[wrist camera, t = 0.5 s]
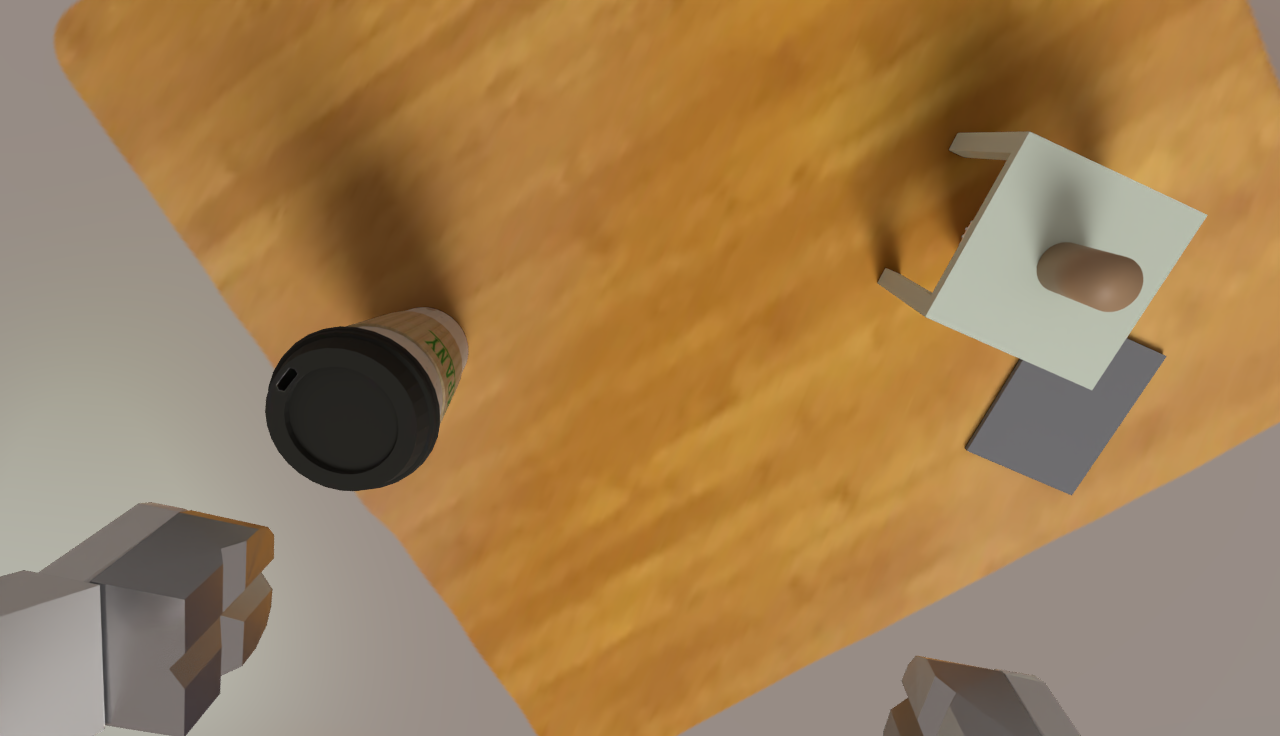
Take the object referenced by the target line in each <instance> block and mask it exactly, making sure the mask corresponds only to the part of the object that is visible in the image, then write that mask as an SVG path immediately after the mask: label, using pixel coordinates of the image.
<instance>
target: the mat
mask: <svg viewBox="0 0 1280 736" xmlns="http://www.w3.org/2000/svg"><path fill="white" fill-rule="evenodd" d="M1165 358H1166V356H1165V355H1163V354H1160V353H1158V352H1156V351H1154V350H1152V349H1149V348H1147V347H1145V346H1143V345H1140V344H1138V343H1136V342H1134V341H1131V340H1129V339H1127V338H1126V340H1125V341H1124V343H1123V344H1122V346H1121V347H1120V349H1119V350H1118V352H1117V353H1116V355H1115V356H1114V358H1113V359H1112V361H1111V362H1110V364H1109V365H1108V367H1107V368H1106V370H1105V372H1104V373H1103V375H1102V376H1101V378H1100V379H1099V381H1098V382H1097V384H1096V385H1095V387H1094V388H1093V390H1090V389H1088V388H1085V387H1083V386H1081V385H1079V384H1076V383H1074V382H1072V381H1070V380H1067V379H1065V378H1063V377H1060V376H1058V375H1056V374H1054V373H1051V372H1049V371H1047V370H1045V369H1042V368H1040V367H1038V366H1035V365H1033V364H1031V363H1029V362H1026V361H1024V360H1022V359H1020V360H1019V362H1018V363H1017V365H1016V366H1015V368H1014V370H1013V371H1012V373H1011V375H1010V376H1009V378H1008V379H1007V381H1006V383H1005V384H1004V386H1003V388H1002V389H1001V391H1000V392H999V394H998V396H997V397H996V399H995V401H994V402H993V404H992V405H991V407H990V409H989V410H988V412H987V413H986V415H985V417H984V418H983V420H982V422H981V423H980V425H979V426H978V428H977V430H976V431H975V433H974V435H973V436H972V438H971V439H970V441H969V443H968V444H967V446H966V448H965V449H966V450H967V451H969V452H971V453H974V454H976V455H978V456H981V457H983V458H985V459H988V460H990V461H992V462H995V463H997V464H999V465H1002V466H1004V467H1007V468H1009V469H1011V470H1014V471H1016V472H1018V473H1021V474H1023V475H1025V476H1028V477H1030V478H1032V479H1035V480H1037V481H1039V482H1042V483H1044V484H1046V485H1049V486H1051V487H1053V488H1056V489H1058V490H1060V491H1063V492H1065V493H1068V494H1070V495H1072V494H1073V493H1074V491H1075V490H1076V488H1077V487H1078V486H1079V484H1080V483H1081V481H1082V480H1083V478H1084V477H1085V475H1086V474H1087V472H1088V471H1089V469H1090V468H1091V466H1092V465H1093V464H1094V462H1095V461H1096V459H1097V458H1098V456H1099V455H1100V453H1101V452H1102V450H1103V449H1104V447H1105V446H1106V444H1107V443H1108V442H1109V440H1110V439H1111V437H1112V436H1113V434H1114V433H1115V431H1116V430H1117V428H1118V427H1119V425H1120V424H1121V422H1122V421H1123V420H1124V418H1125V417H1126V415H1127V414H1128V412H1129V411H1130V409H1131V408H1132V406H1133V405H1134V403H1135V402H1136V400H1137V399H1138V397H1139V396H1140V395H1141V393H1142V392H1143V390H1144V389H1145V387H1146V386H1147V384H1148V383H1149V381H1150V380H1151V378H1152V377H1153V375H1154V374H1155V373H1156V371H1157V370H1158V368H1159V367H1160V365H1161V364H1162V362H1163V361H1164V359H1165Z"/></svg>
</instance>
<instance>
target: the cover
mask: <svg viewBox="0 0 1280 736" xmlns="http://www.w3.org/2000/svg"><path fill="white" fill-rule="evenodd" d="M949 151H951V152H954V153H956V154H958V155H960V156H962V157H965V158H979V159H994V160H1007V161H1006V163H1005V165H1004V166H1003V168H1002V170H1001V172H1000V173H999V175H998V177H997V179H996V181H995V182H994V184H993V186H992V188H991V189H990V191H989V193H988V195H987V197H986V198H985V200H984V202H983V204H982V206H981V207H980V209H979V211H978V213H977V214H976V216H975V218H974V220H973V222H972V223H971V225H970V227H969V229H968V230H967V232H966V234H965V236H964V238H963V239H962V241H961V243H960V245H959V246H958V248H957V250H956V252H955V254H954V255H953V257H952V259H951V261H950V263H949V264H948V266H947V268H946V270H945V271H944V273H943V275H942V277H941V279H940V280H939V282H938V284H937V286H936V287H935V289H934V291H933V293H931V292H930V291H928V290H926V289H925V288H923V287H921V286H920V285H918V284H916V283H914V282H913V281H911V280H909V279H908V278H906V277H904V276H903V275H901V274H899V273H897V272H894V271H892V270H890V269H888V268H885V270H884V272H883V274H882V275H881V277H880V279H879V281H878V284H879V285H881V286H882V287H884V288H885V289H886V290H888V291H889V292H891V293H892V294H893V295H895V296H896V297H898V298H899V299H901V300H902V301H903V302H905V303H906V304H908V305H909V306H910V307H912V308H913V309H915V310H916V311H918V312H919V313H920V314H922V315H923V316H925V317H927V318H929V319H931V320H933V321H936V322H938V323H940V324H942V325H945V326H947V327H949V328H952V329H954V330H956V331H958V332H961V333H963V334H965V335H967V336H970V337H972V338H974V339H977V340H979V341H981V342H983V343H986V344H988V345H990V346H992V347H995V348H997V349H999V350H1001V351H1004V352H1006V353H1008V354H1011V355H1013V356H1015V357H1017V358H1020V359H1022V360H1024V361H1026V362H1029V363H1031V364H1033V365H1035V366H1038V367H1040V368H1042V369H1045V370H1047V371H1049V372H1051V373H1054V374H1056V375H1058V376H1060V377H1063V378H1065V379H1067V380H1070V381H1072V382H1074V383H1076V384H1079V385H1081V386H1083V387H1085V388H1088V389H1090V390H1093V388H1094V387H1095V385H1096V384H1097V382H1098V381H1099V379H1100V378H1101V376H1102V375H1103V373H1104V372H1105V370H1106V368H1107V367H1108V365H1109V364H1110V362H1111V361H1112V359H1113V358H1114V356H1115V355H1116V353H1117V352H1118V350H1119V349H1120V347H1121V346H1122V344H1123V343H1124V341H1125V340H1126V338H1127V337H1128V335H1129V334H1130V332H1131V331H1132V329H1133V327H1134V326H1135V324H1136V323H1137V321H1138V320H1139V318H1140V317H1141V315H1142V314H1143V312H1144V311H1145V309H1146V308H1147V306H1148V305H1149V303H1150V302H1151V300H1152V299H1153V297H1154V296H1155V294H1156V293H1157V291H1158V289H1159V288H1160V286H1161V285H1162V283H1163V282H1164V280H1165V279H1166V277H1167V276H1168V274H1169V273H1170V271H1171V270H1172V268H1173V267H1174V265H1175V264H1176V262H1177V261H1178V259H1179V258H1180V256H1181V255H1182V253H1183V251H1184V250H1185V248H1186V247H1187V245H1188V244H1189V242H1190V241H1191V239H1192V238H1193V236H1194V235H1195V233H1196V232H1197V230H1198V229H1199V227H1200V226H1201V224H1202V223H1203V221H1204V220H1205V218H1206V217H1207V215H1206V214H1204V213H1202V212H1200V211H1198V210H1196V209H1194V208H1191V207H1189V206H1187V205H1185V204H1183V203H1181V202H1179V201H1177V200H1174V199H1172V198H1170V197H1168V196H1166V195H1164V194H1162V193H1160V192H1157V191H1155V190H1153V189H1151V188H1149V187H1147V186H1145V185H1142V184H1140V183H1138V182H1136V181H1134V180H1132V179H1130V178H1128V177H1125V176H1123V175H1121V174H1119V173H1117V172H1115V171H1113V170H1111V169H1108V168H1106V167H1104V166H1102V165H1100V164H1098V163H1096V162H1094V161H1091V160H1089V159H1087V158H1085V157H1083V156H1081V155H1079V154H1077V153H1074V152H1072V151H1070V150H1068V149H1066V148H1064V147H1062V146H1060V145H1057V144H1055V143H1053V142H1051V141H1049V140H1047V139H1045V138H1042V137H1040V136H1038V135H1036V134H1034V133H1032V132H975V133H957V135H956V137H955V139H954V141H953V143H952V145H951V146H950V148H949Z"/></svg>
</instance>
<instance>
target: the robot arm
mask: <svg viewBox="0 0 1280 736" xmlns="http://www.w3.org/2000/svg"><path fill="white" fill-rule="evenodd" d="M273 559H274V534H273V533H272V532H271V530H270V529H269V528H268V527H265V526H260V525H256V524H251V523H247V522H242V521H237V520H233V519H229V518H224V517H220V516H215V515H210V514H205V513H201V512H196V511H192V510H190V511H188V510H186V509H183V508H177V507H173V506H167V505H162V504H157V503H152V502H149V503H139V504H137V505H136V506H134V507H133V508H132V509H130V510H128V511H127V512H126V513H124V514H123V515H121V516H120V517H118V518H117V519H115V520H114V521H112V522H111V523H110V524H108V525H107V526H105V527H104V528H102V529H101V530H99V531H98V532H96V533H95V534H94V535H92V536H91V537H89V538H88V539H86V540H85V541H83V542H82V543H81V544H79V545H78V546H76V547H75V548H73V549H72V550H70V551H69V552H68V553H66V554H65V555H63V556H62V557H60V558H59V559H57V560H56V561H54V562H53V563H51V564H50V565H49V566H47V567H46V568H44V569H43V570H41V571H40V572H39V573H35V572H31V571H25V570H23V571H19V572H16V573H12V574H8V575H4V576H1V577H0V736H94V735H96V734H98V733H99V732H101V731H103V730H104V729H105V725H107V726H114V727H120V728H126V729H132V730H138V731H145V732H151V733H158V734H164V735H171V736H186V735H187V734H188V732H189V731H190V730H191V729H192V727H193V726H194V725H195V724H196V723H197V721H198V720H199V719H200V717H201V716H202V715H203V714H204V713H205V711H206V710H207V709H208V708H209V706H210V705H211V704H212V703H213V702H214V700H215V699H216V698H217V697H218V695H219V694H220V681H221V676H222V675H224V674H226V673H228V672H230V671H233V670H235V669H237V668H239V667H241V666H243V664H244V663H245V662H246V660H247V659H248V658H249V657H250V655H251V654H252V653H253V651H254V650H255V649H256V647H257V644H258V643H259V640H260V638H261V636H262V634H263V632H264V630H265V628H266V626H267V622H268V617H269V613H270V609H271V602H272V601H271V600H272V588H271V587H270V585H269V583H268V582H267V580H266V578H265V577H264V575H263V574H262V571H263V570H264V568H265V567H266V566H267V565H268V564H269V563H270V562H271V561H272V560H273ZM902 684H903V686H904V689H905V691H906V693H907V696H908V698H907V699H905V700H904V701H902V702H901V703H900V704H898V705H897V706H895V707H894V708H892V709H891V710H890V713H889V716H888V719H887V722H886V725H885V728H884V731H883V736H1081V735H1080V734H1079V732H1078V731H1077V729H1076V728H1075V726H1074V725H1073V723H1072V722H1071V720H1070V719H1069V717H1068V716H1067V715H1066V713H1065V712H1064V710H1063V709H1062V707H1061V706H1060V704H1059V703H1058V701H1057V700H1056V698H1055V697H1054V695H1053V694H1052V692H1051V691H1050V689H1049V688H1048V686H1047V685H1046V684H1045V683H1044V682H1043V681H1042V680H1040V679H1039V678H1037V677H1036V676H1034V675H1029V674H1022V673H1016V672H1010V671H1004V670H997V669H994V670H991V669H987V668H981V667H976V666H970V665H965V664H959V663H954V662H948V661H943V660H937V659H932V658H926V657H921V656H915V657H914V658H913V660H912V661H911V662H910V663H909V664H908V667H907V669H906V671H905V674H904V676H903V679H902Z"/></svg>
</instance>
